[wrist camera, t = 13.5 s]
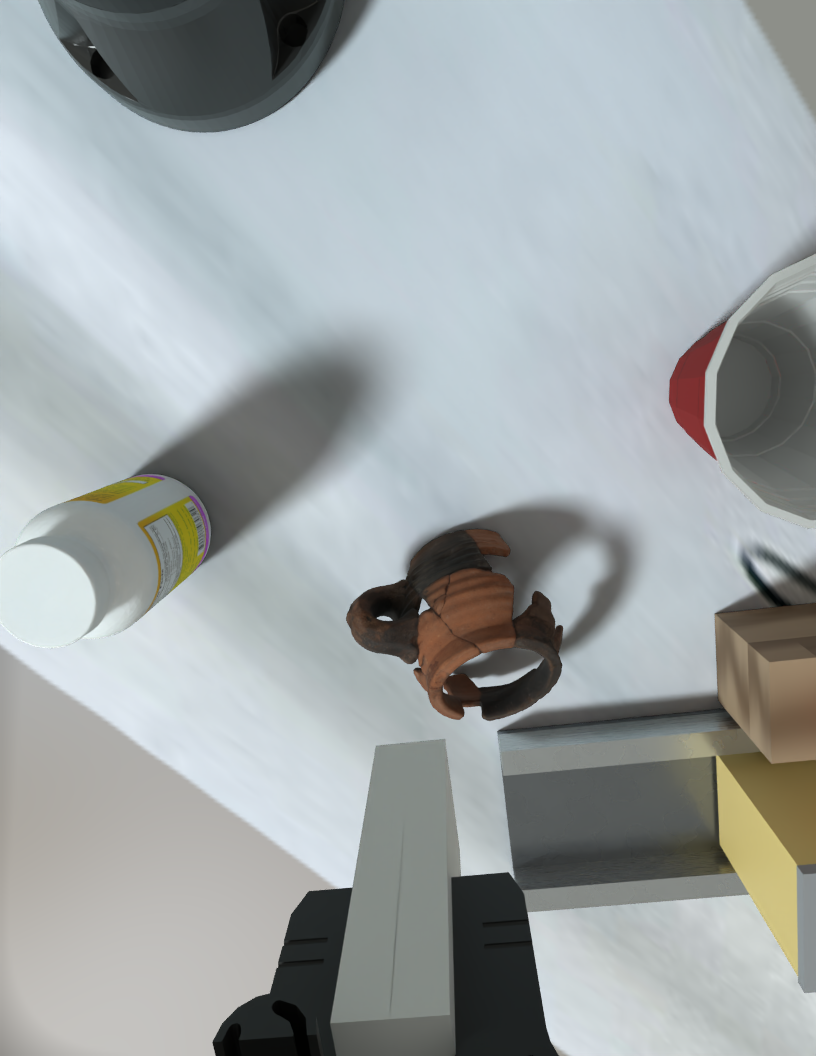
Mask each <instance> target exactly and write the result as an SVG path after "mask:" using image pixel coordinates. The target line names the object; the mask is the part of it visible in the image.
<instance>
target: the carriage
mask: <svg viewBox="0 0 816 1056" xmlns="http://www.w3.org/2000/svg"><path fill="white" fill-rule="evenodd" d="M716 765H717V790H718V814H719V838H720V846H721V847H722V849H723V851H724V852H725V854H726V856H727V857H728V859H729V861H730V863H731V864H732V866H733V868H734V869H735V871H736V873H737V874H738V876H739V878H740V879H741V881H742V883H743V884H744V886H745V888H746V890H747V891H748V893H749V895H750V896H751V898H752V900H753V901H754V903H755V905H756V906H757V908H758V910H759V912H760V913H761V915H762V917H763V918H764V920H765V922H766V923H767V925H768V927H769V928H770V930H771V932H772V933H773V935H774V937H775V939H776V940H777V942H778V944H779V945H780V947H781V949H782V950H783V952H784V954H785V955H786V957H787V959H788V961H789V962H790V964H791V966H792V967H793V969H794V971H795V972H796V974H797V976H798V983H799V985H800V986H801V988H802V990H803V991H804V993H811V992H816V760H807V761H796V762H786V763H775V764H771V763H770V761H769V760H768V759H767V758H766V757H765V755H764V754H763V753H762V752H752V753H742V754H731V755H721V756H716Z"/></svg>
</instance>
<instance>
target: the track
mask: <svg viewBox="0 0 816 1056" xmlns="http://www.w3.org/2000/svg"><path fill="white" fill-rule="evenodd" d="M497 732H498V741H499V749H500V758H501V767H502V775H503V784H504V793H505V801H506V810H507V819H508V827H509V836H510V845H511V853H512V862H513V871H514V880H515V882H516V883H517V884H518V886H519V887H520V888H521V890H522V891H523V893H524V895H525V902H526V908H527V912H536V911H549V910H561V909H574V908H586V907H599V906H611V905H623V904H636V903H648V902H661V901H673V900H686V899H698V898H710V897H723V896H735V895H748V894H749V893H748V891H747V890H746V888H745V886H744V884H743V883H742V881H741V879H740V878H739V876H738V874H737V873H736V871H735V869H734V868H733V866H732V864H731V863H730V861H729V859H728V857H727V856H726V854H725V852H724V851H723V849H722V847H721V846H720V838H719V814H718V790H717V765H716V756H721V755H731V754H742V753H752V752H761V751H760V750H759V748H758V747H757V746H756V745H755V744H754V742H753V741H752V740H751V739H750V738H749V737H748V735H747V734H746V733H745V732H744V731H743V729H742V728H741V727H740V726H739V725H738V723H737V722H736V721H735V720H734V719H733V718H732V716H731V715H730V714H729V713H728V712H727V710H726V709H718V710H708V711H697V712H687V713H677V714H667V715H657V716H647V717H637V718H627V719H617V720H606V721H596V722H586V723H576V724H566V725H556V726H546V727H536V728H525V729H515V730H505V731H497Z"/></svg>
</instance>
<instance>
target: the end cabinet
mask: <svg viewBox="0 0 816 1056" xmlns="http://www.w3.org/2000/svg"><path fill="white" fill-rule="evenodd" d="M715 635H716V661H717V686H718V701H719V702H720V703H721V704H722V706H723V707H724V708H725V709H726V710H727V712H728V713H729V714H730V715H731V716H732V718H733V719H734V720H735V721H736V722H737V723H738V725H739V726H740V727H741V728H742V729H743V731H744V732H745V733H746V734H747V735H748V737H749V738H750V739H751V740H752V741H753V742H754V744H755V745H756V746H757V747H758V748H759V750H760V751H761V752H762V753H763V754H764V755H765V757H766V758H767V759H768V760H769V761H770V763H771V764H775V763H786V762H796V761H807V760H816V603H810V604H801V605H792V606H782V607H773V608H764V609H755V610H745V611H736V612H727V613H718V614H715Z"/></svg>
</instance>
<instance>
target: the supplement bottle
mask: <svg viewBox="0 0 816 1056" xmlns="http://www.w3.org/2000/svg"><path fill="white" fill-rule="evenodd" d="M210 540H211V526H210V521H209V517H208V514H207V511H206V509H205V507H204V505H203V503H202V502H201V500H200V499H199V498H198V496H197V495H196V494H195V493H194V492H193V491H192V490H191V489H190V488H188V487H187V486H186V485H184V484H183V483H181V482H179V481H177V480H175V479H173V478H170V477H167V476H164V475H158V474H144V475H138V476H134V477H131V478H128V479H125V480H122V481H120V482H117V483H114V484H111V485H109V486H106V487H104V488H101V489H98V490H96V491H93V492H91V493H88V494H85V495H83V496H80V497H77V498H74V499H72V500H69V501H66V502H64V503H61V504H58V505H55V506H53V507H51V508H48V509H46V510H44V511H43V512H41V513H39V514H38V515H37V516H35V517H34V518H33V519H32V520H31V521H30V522H29V523H28V524H27V525H26V526H25V527H24V529H23V530H22V532H21V533H20V535H19V537H18V539H17V541H16V544H15V546H14V548H12V549H10V550H8V551H7V552H6V553H5V554H3V555H2V556H1V557H0V623H1V624H2V626H3V627H4V628H5V629H6V630H7V631H8V632H9V633H10V634H12V635H13V636H14V637H16V638H17V639H19V640H20V641H22V642H24V643H27V644H29V645H32V646H36V647H41V648H59V647H64V646H67V645H70V644H72V643H74V642H76V641H78V640H79V639H100V638H105V637H109V636H112V635H115V634H117V633H120V632H122V631H124V630H125V629H127V628H128V627H130V626H131V625H133V624H134V623H135V622H136V621H138V620H139V619H140V618H141V617H142V616H144V615H145V614H146V613H147V612H148V611H149V610H150V609H151V608H152V607H154V606H155V605H156V604H157V603H158V602H159V601H161V600H162V599H163V598H164V597H165V596H166V595H168V594H169V593H170V592H171V591H172V590H173V589H175V588H176V587H177V586H178V585H179V584H180V583H181V582H183V581H184V580H185V579H186V578H187V577H188V576H189V575H191V574H192V573H193V572H194V571H195V570H196V569H197V568H198V566H199V565H200V564H201V563H202V561H203V560H204V558H205V556H206V554H207V552H208V549H209V545H210Z"/></svg>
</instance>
